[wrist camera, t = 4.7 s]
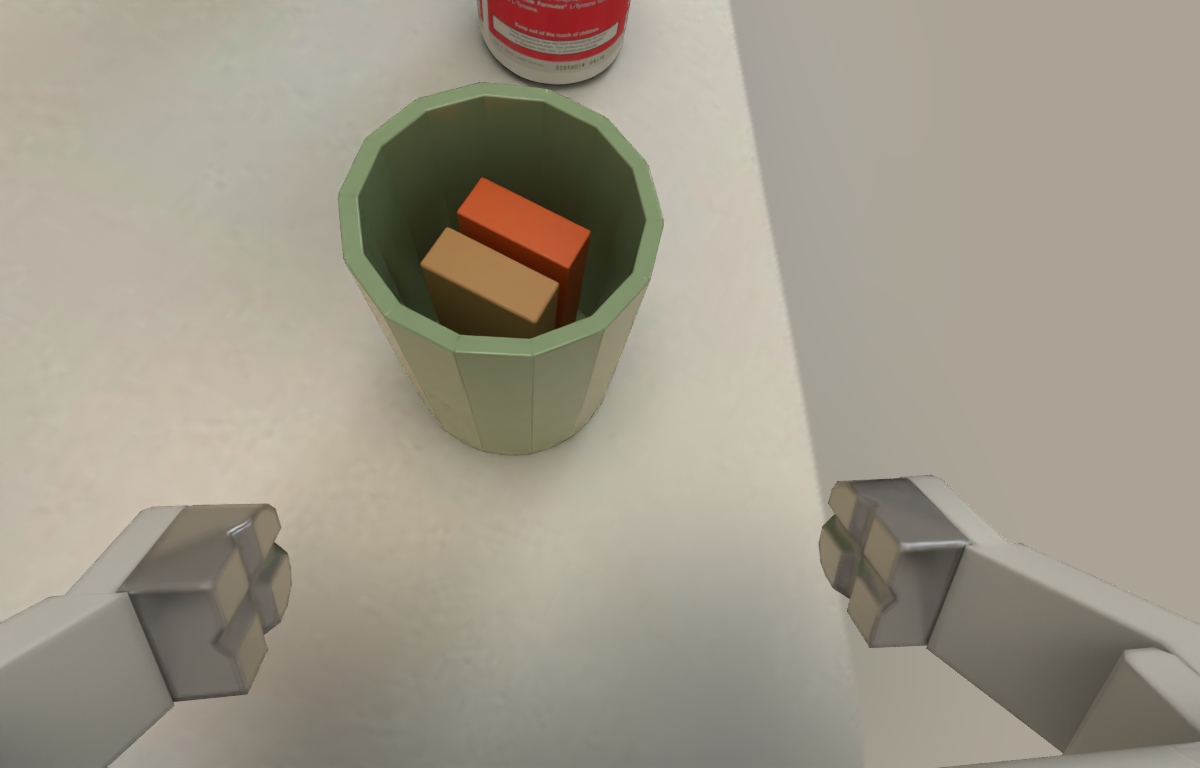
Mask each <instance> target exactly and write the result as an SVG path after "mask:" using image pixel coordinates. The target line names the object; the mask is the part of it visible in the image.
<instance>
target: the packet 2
mask: <svg viewBox="0 0 1200 768" xmlns="http://www.w3.org/2000/svg"><path fill="white" fill-rule="evenodd" d="M457 217H458V222H459V228H460V233H461V234H463V235H465V236H467V237H469V238H471V239H473V240H475V241H477V242H479V243H481V244H483V245H485V246H487V247H489V248H491V249H493V250H495V251H497V252H499V253H501V254H503V255H504V256H506V257H508V258H510V259H512V260H514V261H516V262H518V263H520V264H522V265H524V266H526V267H528V268H530V269H532V270H534V271H536V272H538V273H540V274H542V275H544V276H546V277H548V278H550V279H552V280H554V281H556V282H558V283H559V292H558V302H557V312H556V322H555V329H558V328H561V327H563V326H566V325H569V324H571V323H574V322H576V316H577V310H578V304H579V299H580V293H581V287H582V282H583V276H584V270H585V264H586V259H587V253H588V247H589V242H590V236H591V231H590V230H588V229H586V228H584V227H582V226H580V225H578V224H576V223H574V222H572V221H570V220H568V219H566V218H564V217H562V216H560V215H558V214H556V213H554V212H552V211H550V210H548V209H546V208H544V207H542V206H540V205H538V204H536V203H534V202H532V201H530V200H528V199H526V198H524V197H522V196H520V195H518V194H516V193H514V192H512V191H510V190H508V189H506V188H504V187H502V186H500V185H498V184H496V183H494V182H492V181H490V180H488V179H486V178H484V177H482V178H481V179H480V180H479V182H478V183H477V184H476V186H475V187H474V189H473V190H472V191H471V193H470V194H469V196H468V197H467V198H466V200H465V201H464V203H463V204H462V205H461V207H460V208H459V209H458V211H457Z"/></svg>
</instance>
